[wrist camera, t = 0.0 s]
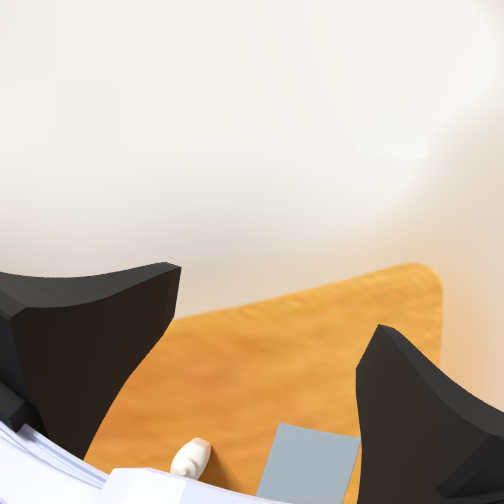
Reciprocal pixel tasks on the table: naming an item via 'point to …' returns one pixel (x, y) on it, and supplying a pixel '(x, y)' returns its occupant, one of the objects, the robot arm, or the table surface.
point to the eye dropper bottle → (191, 459)
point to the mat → (308, 466)
